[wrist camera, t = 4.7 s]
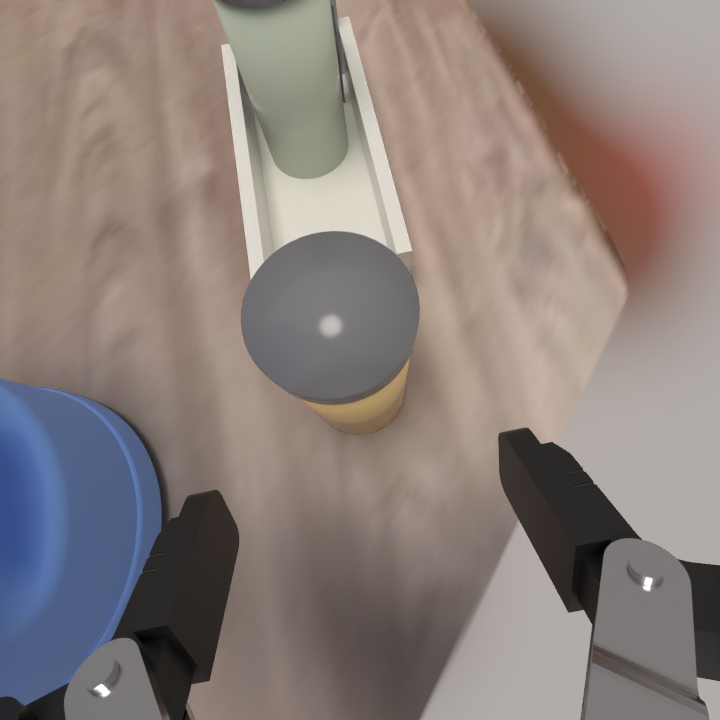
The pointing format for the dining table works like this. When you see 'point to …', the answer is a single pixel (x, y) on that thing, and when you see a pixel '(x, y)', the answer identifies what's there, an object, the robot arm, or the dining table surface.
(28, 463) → the water jug
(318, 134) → the sage jar
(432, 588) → the dining table surface
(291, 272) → the honey jar
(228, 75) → the jar lane
